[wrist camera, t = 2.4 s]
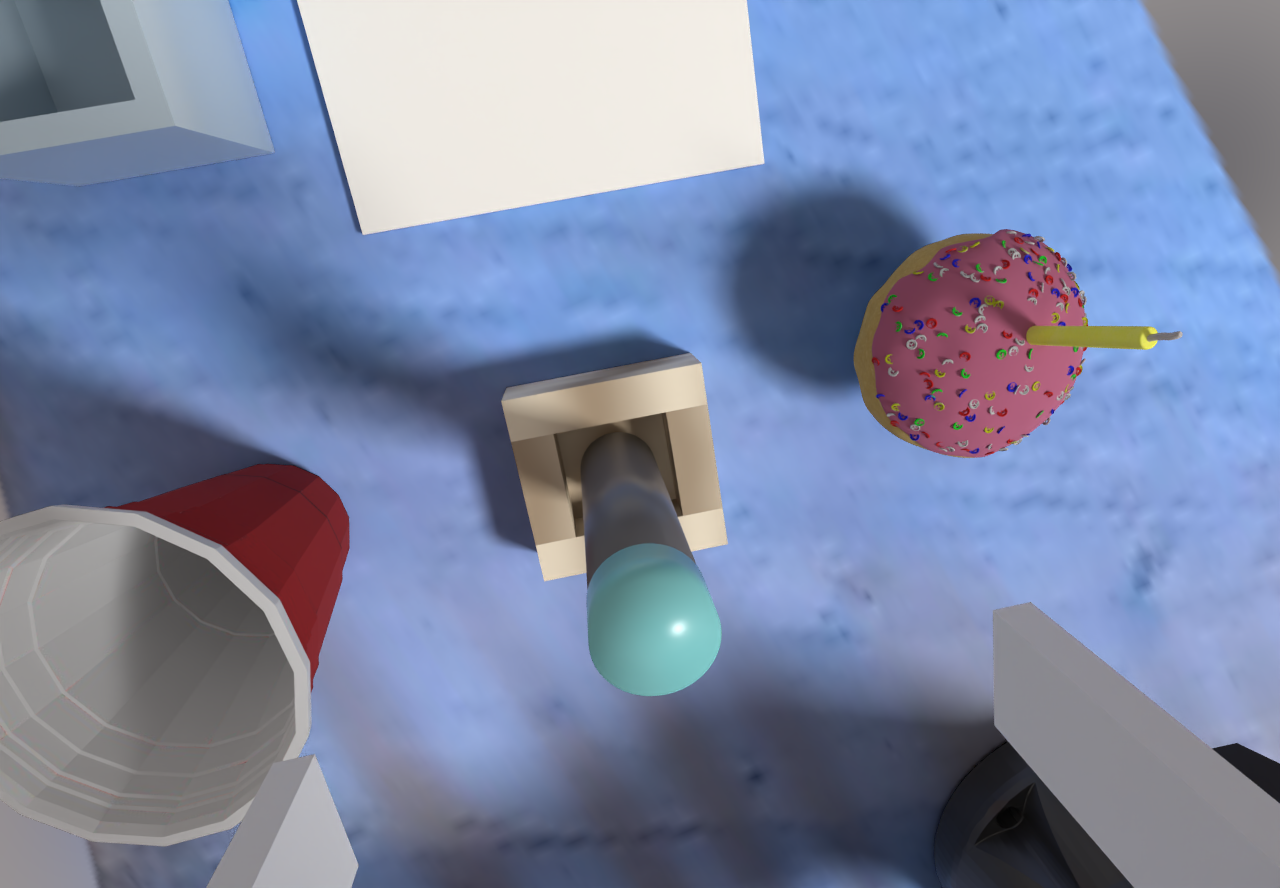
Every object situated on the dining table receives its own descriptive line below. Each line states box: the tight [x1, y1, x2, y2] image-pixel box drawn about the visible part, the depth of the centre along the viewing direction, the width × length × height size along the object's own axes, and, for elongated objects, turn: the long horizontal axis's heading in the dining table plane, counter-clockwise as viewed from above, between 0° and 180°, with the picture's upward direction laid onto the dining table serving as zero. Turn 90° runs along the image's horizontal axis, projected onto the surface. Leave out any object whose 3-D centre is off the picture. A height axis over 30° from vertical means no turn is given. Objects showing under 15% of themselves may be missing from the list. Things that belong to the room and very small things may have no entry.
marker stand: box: [501, 353, 728, 581], centre depth 30 cm, size 8×8×2 cm
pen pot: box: [0, 0, 275, 186], centre depth 22 cm, size 7×7×7 cm
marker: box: [581, 432, 722, 696], centre depth 24 cm, size 3×3×14 cm
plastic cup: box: [0, 464, 349, 846], centre depth 25 cm, size 11×11×12 cm
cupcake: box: [854, 229, 1182, 458], centre depth 25 cm, size 9×8×12 cm
